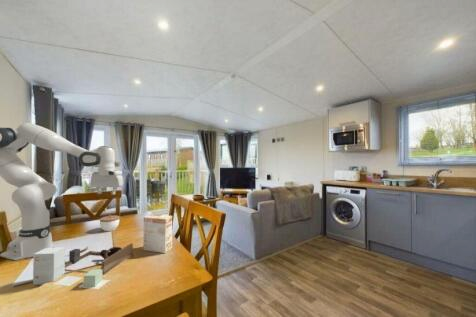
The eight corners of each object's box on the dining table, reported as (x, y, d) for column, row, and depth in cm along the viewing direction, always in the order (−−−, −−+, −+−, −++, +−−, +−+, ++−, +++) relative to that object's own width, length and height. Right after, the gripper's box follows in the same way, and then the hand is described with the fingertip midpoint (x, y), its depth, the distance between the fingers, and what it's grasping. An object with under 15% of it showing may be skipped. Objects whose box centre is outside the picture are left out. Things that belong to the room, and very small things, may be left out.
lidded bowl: (122, 228, 151) (123, 214, 151) (104, 234, 140) (104, 218, 140) (114, 226, 157) (114, 212, 158) (96, 230, 147) (96, 215, 147)
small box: (65, 275, 90) (65, 246, 90) (53, 284, 83) (53, 253, 83) (45, 276, 89) (46, 247, 89) (32, 285, 83) (32, 254, 83)
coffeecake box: (172, 248, 118) (172, 215, 118) (165, 253, 111) (165, 218, 112) (151, 245, 122) (151, 213, 122) (142, 250, 115) (143, 216, 116)
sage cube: (83, 286, 80) (83, 275, 80) (91, 280, 84) (91, 269, 84) (95, 286, 80) (95, 275, 80) (102, 280, 85) (102, 269, 85)
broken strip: (52, 287, 81) (52, 284, 81) (66, 278, 87) (66, 275, 87) (97, 292, 79) (97, 289, 79) (109, 282, 84) (109, 280, 84)
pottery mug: (127, 256, 109) (127, 246, 105) (117, 273, 100) (117, 262, 97) (104, 252, 107) (104, 241, 104) (92, 268, 99) (92, 257, 95)
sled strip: (51, 272, 92) (52, 257, 92) (88, 253, 111) (88, 240, 112) (103, 277, 89) (103, 261, 89) (132, 256, 108) (132, 243, 108)
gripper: (87, 172, 122) (87, 194, 122) (117, 172, 120) (117, 195, 119) (96, 171, 129) (95, 192, 129) (124, 171, 126) (124, 193, 126)
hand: (106, 194), depth 124 cm, fingers open, 8 cm apart
